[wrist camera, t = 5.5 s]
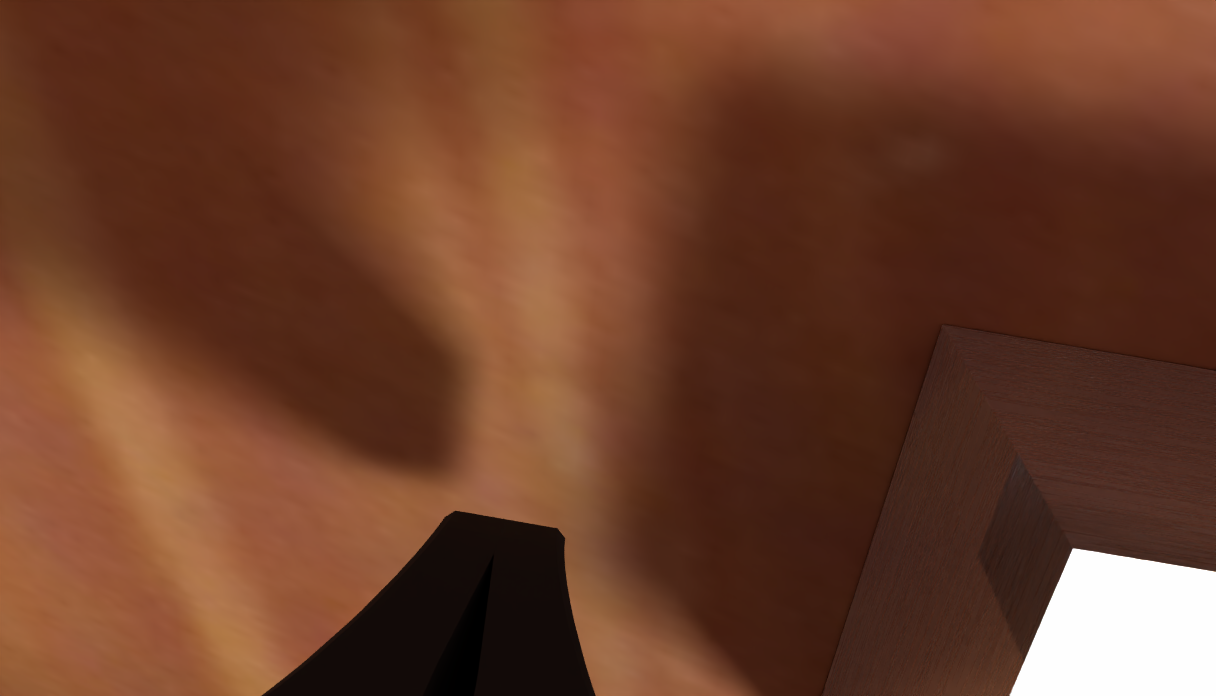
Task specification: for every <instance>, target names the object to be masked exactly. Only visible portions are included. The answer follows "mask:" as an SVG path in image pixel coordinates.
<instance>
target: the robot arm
mask: <svg viewBox="0 0 1216 696" xmlns="http://www.w3.org/2000/svg"><path fill="white" fill-rule="evenodd" d="M564 545H565V537H564V536H563V535H562V534H561V532H560V531H559V530H558V528H552V527H546V526H541V525H535V524H529V523H523V522H518V521H512V520H506V519H500V518H495V517H489V516H483V515H477V514H472V513H466V512H460V511H454V512H453V513H451V514H449V515H448V516H446V517H445V518H444V519H443V521H442V522H441V523H440V525H439V526H438V527H437V529H436V530H435V531H434V533H433V534H432V535H431V536H430V537H429V539H428V540H427V541H426V542H425V544H424V545H423V546H422V547H421V548H420V549H419V551H418V552H417V553H416V554H415V555H414V556H413V557H412V559H411V560H410V561H409V562H408V563H407V564H406V565H405V566H404V567H403V568H402V570H401V571H400V572H399V573H398V574H397V575H396V576H395V577H394V578H393V579H392V580H391V581H390V582H389V583H388V584H387V585H386V586H385V587H384V588H383V589H382V590H381V591H380V592H379V593H378V594H377V595H376V596H375V597H374V598H373V599H372V600H371V601H370V602H369V603H368V604H367V605H366V606H365V607H364V608H363V609H362V611H360V612H359V613H358V614H357V615H356V616H355V617H354V618H353V619H352V620H351V621H350V622H349V623H348V624H347V625H345V626H344V627H343V628H342V629H341V630H340V631H339V632H338V633H336V634H335V635H334V636H333V637H332V638H331V639H330V640H329V641H327V642H326V643H325V644H324V645H323V646H322V647H321V648H320V649H318V650H317V651H316V652H315V653H314V654H313V655H312V656H310V657H309V658H308V659H307V660H306V661H305V662H303V663H302V664H301V665H300V666H299V667H297V668H296V669H295V670H294V671H292V672H291V673H290V674H289V675H288V676H286V677H285V678H284V679H283V680H281V681H280V682H279V683H277V684H276V685H275V686H274V687H272V688H271V689H270V690H268V691H267V692H266V693H264V694H263V695H262V696H595V693H594V690H593V687H592V684H591V681H590V677H589V674H588V671H587V668H586V664H585V661H584V657H583V653H582V650H581V646H580V642H579V638H578V634H577V631H576V627H575V623H574V618H573V614H572V609H571V604H570V598H569V593H568V587H567V580H566V572H565V560H564Z"/></svg>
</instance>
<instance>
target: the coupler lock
mask: <svg viewBox="0 0 1216 696" xmlns="http://www.w3.org/2000/svg"><path fill="white" fill-rule="evenodd" d="M822 696H1216V371H1215V370H1209V369H1203V368H1197V367H1191V366H1185V365H1180V364H1174V363H1168V362H1162V361H1156V360H1150V359H1144V358H1138V357H1132V356H1126V355H1120V354H1114V353H1109V352H1103V351H1097V350H1091V349H1085V348H1079V347H1073V346H1067V345H1061V344H1055V343H1049V342H1043V341H1038V340H1032V339H1026V338H1020V337H1014V336H1008V335H1002V334H996V333H990V332H984V331H978V330H972V329H967V328H961V327H955V326H949V325H943V324H942V327H941V330H940V334H939V337H938V340H937V343H936V346H935V349H934V352H933V355H932V358H931V361H930V364H929V367H928V370H927V374H926V377H925V380H924V383H923V386H922V389H921V392H920V395H919V398H918V401H917V404H916V407H915V410H914V414H913V417H912V420H911V423H910V426H909V429H908V432H907V435H906V438H905V441H904V444H903V447H902V451H901V454H900V457H899V460H898V463H897V466H896V469H895V472H894V475H893V478H892V481H891V484H890V487H889V491H888V494H887V497H886V500H885V503H884V506H883V509H882V512H881V515H880V518H879V521H878V524H877V527H876V531H875V534H874V537H873V540H872V543H871V546H870V549H869V552H868V555H867V558H866V561H865V564H864V567H863V571H862V574H861V577H860V580H859V583H858V586H857V589H856V592H855V595H854V598H853V601H852V604H851V607H850V611H849V614H848V617H847V620H846V623H845V626H844V629H843V632H842V635H841V638H840V641H839V644H838V648H837V651H836V654H835V657H834V660H833V663H832V666H831V669H830V672H829V675H828V678H827V681H826V684H825V688H824V691H823V694H822Z"/></svg>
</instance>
